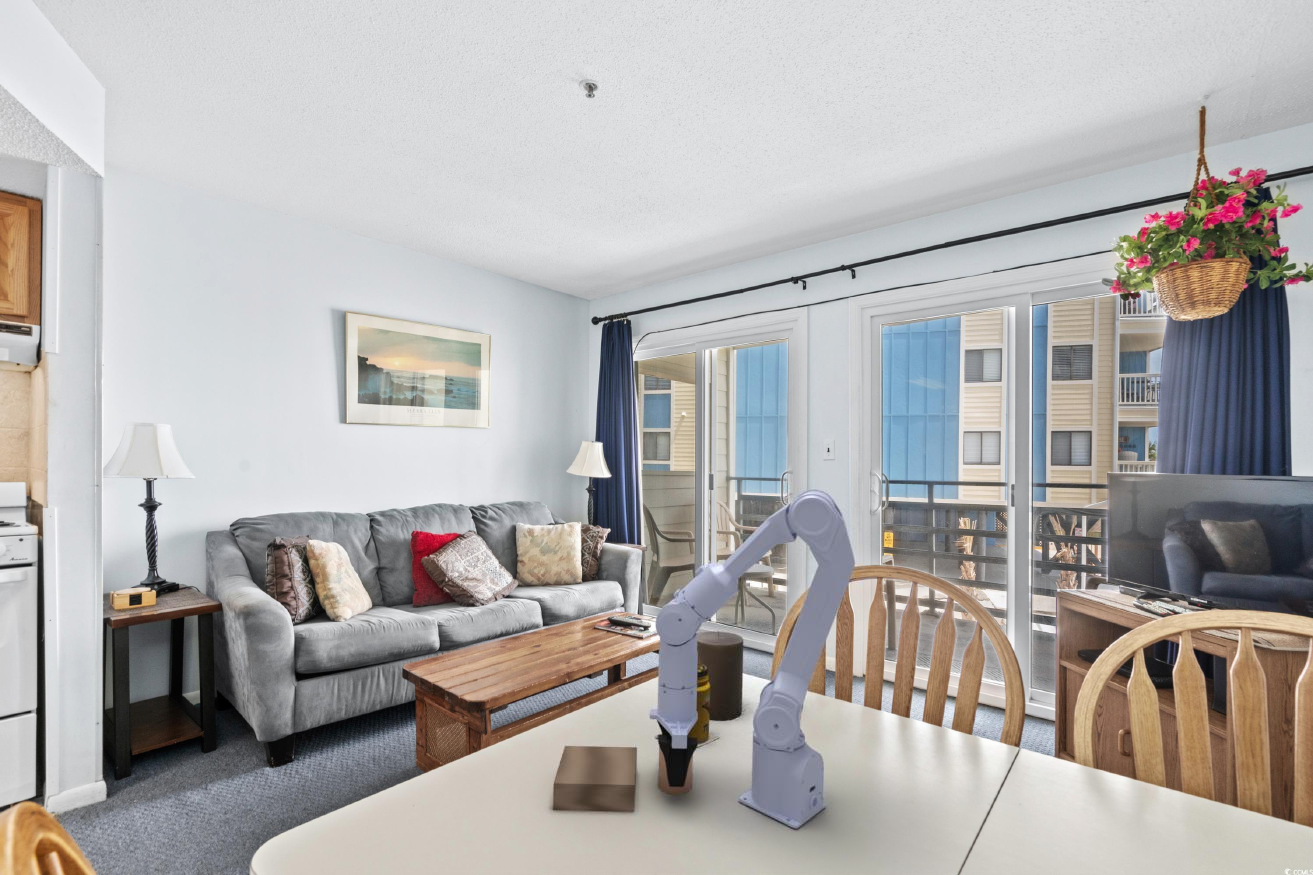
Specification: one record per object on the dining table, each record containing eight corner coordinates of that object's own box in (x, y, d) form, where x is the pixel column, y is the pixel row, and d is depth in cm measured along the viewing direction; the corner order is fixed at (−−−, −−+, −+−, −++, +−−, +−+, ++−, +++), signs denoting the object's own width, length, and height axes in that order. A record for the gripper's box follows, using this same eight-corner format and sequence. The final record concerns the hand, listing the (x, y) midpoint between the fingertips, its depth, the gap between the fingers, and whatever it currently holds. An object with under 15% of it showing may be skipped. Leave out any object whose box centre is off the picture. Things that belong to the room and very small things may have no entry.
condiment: (719, 738, 110) (721, 667, 110) (685, 753, 104) (687, 679, 105) (688, 724, 116) (690, 656, 116) (654, 738, 110) (656, 667, 110)
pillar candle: (739, 723, 116) (741, 639, 117) (685, 716, 118) (688, 634, 119) (744, 703, 126) (746, 626, 126) (695, 697, 128) (697, 621, 128)
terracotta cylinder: (699, 785, 94) (700, 744, 95) (676, 798, 91) (677, 755, 91) (674, 773, 98) (674, 733, 98) (651, 784, 94) (652, 743, 94)
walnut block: (636, 773, 98) (636, 747, 98) (634, 814, 87) (634, 784, 87) (564, 772, 98) (564, 745, 98) (552, 812, 87) (553, 783, 87)
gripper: (649, 665, 102) (647, 751, 102) (651, 701, 87) (648, 802, 87) (694, 665, 102) (692, 752, 102) (703, 702, 87) (700, 802, 87)
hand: (675, 775), depth 94 cm, fingers closed on terracotta cylinder, 5 cm apart
